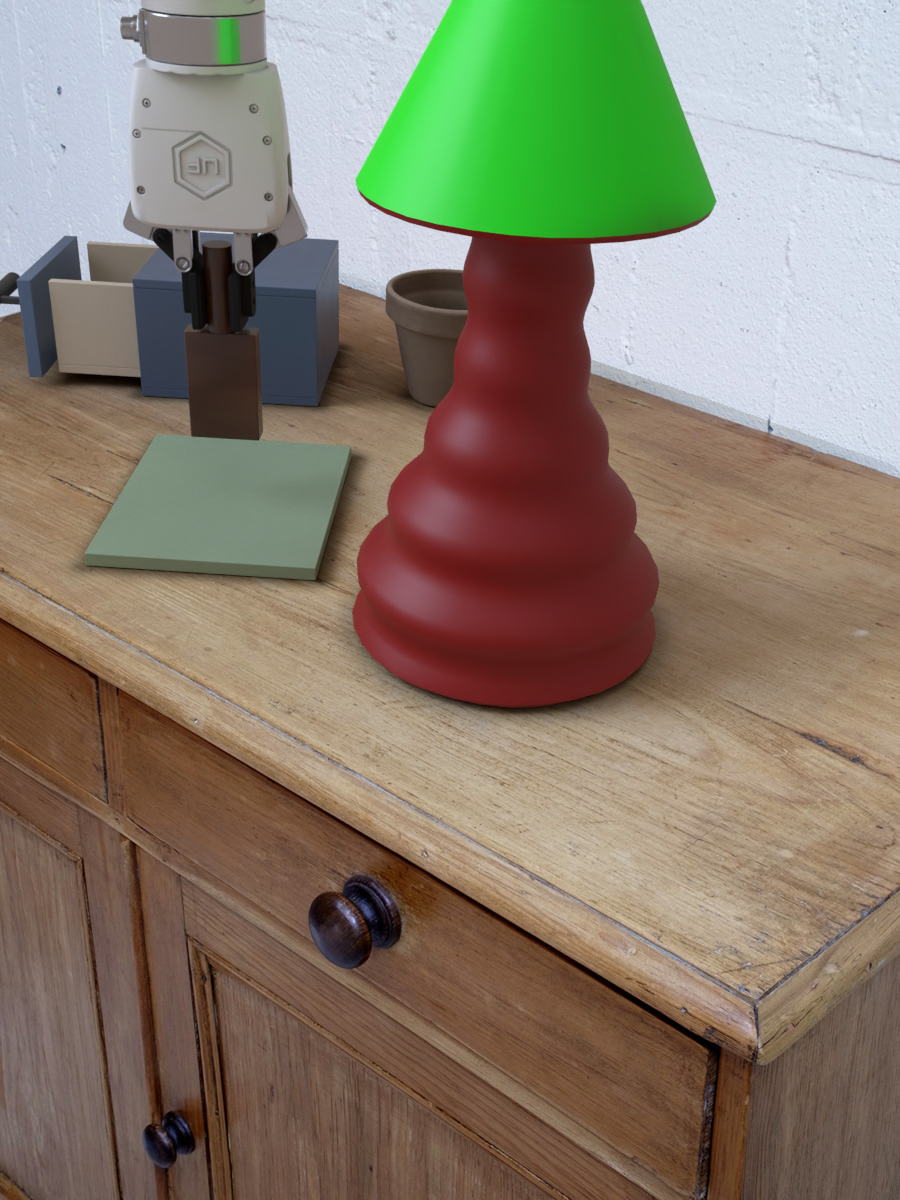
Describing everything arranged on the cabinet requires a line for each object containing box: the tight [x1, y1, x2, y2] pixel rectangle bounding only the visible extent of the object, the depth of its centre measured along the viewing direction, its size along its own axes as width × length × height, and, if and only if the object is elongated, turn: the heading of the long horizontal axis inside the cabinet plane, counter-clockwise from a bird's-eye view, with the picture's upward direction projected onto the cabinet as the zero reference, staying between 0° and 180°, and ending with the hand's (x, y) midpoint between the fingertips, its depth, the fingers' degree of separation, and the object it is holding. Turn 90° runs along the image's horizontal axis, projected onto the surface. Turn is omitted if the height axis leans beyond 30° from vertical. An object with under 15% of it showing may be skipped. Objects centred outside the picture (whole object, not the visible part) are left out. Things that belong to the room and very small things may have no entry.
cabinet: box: [132, 231, 340, 407], centre depth 119 cm, size 16×15×11 cm
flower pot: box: [385, 268, 468, 408], centre depth 116 cm, size 12×11×10 cm
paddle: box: [184, 240, 264, 441], centre depth 92 cm, size 5×2×14 cm, turn 87°
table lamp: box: [351, 0, 717, 709], centre depth 75 cm, size 20×20×45 cm
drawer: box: [0, 235, 159, 378], centre depth 120 cm, size 19×13×9 cm
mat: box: [84, 433, 352, 581], centre depth 99 cm, size 16×20×1 cm
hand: (221, 322), depth 91 cm, fingers closed on paddle, 2 cm apart
